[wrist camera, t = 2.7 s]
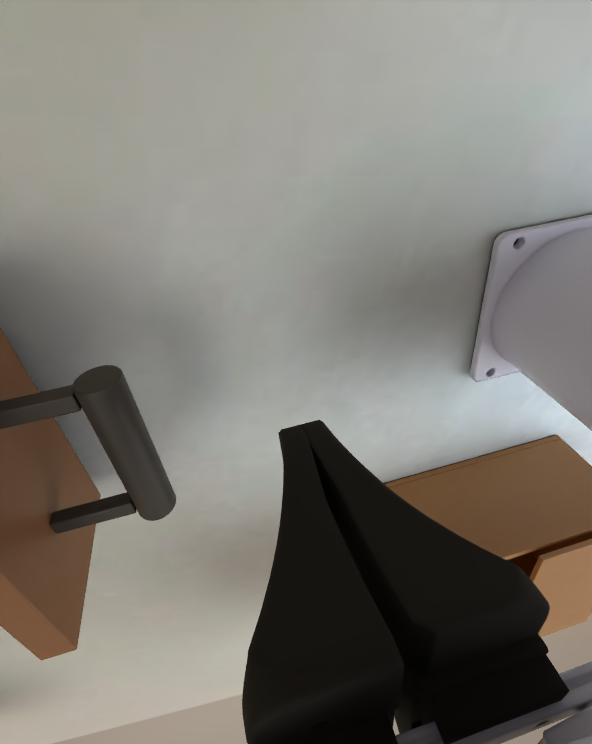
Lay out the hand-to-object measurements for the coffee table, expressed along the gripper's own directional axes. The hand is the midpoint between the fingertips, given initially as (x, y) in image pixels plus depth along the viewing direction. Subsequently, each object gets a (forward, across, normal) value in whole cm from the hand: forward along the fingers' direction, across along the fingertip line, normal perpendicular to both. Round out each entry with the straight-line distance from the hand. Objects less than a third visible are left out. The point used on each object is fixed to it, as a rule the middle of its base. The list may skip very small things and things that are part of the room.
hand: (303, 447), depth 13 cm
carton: (+6, -12, +18) cm, 22 cm away
